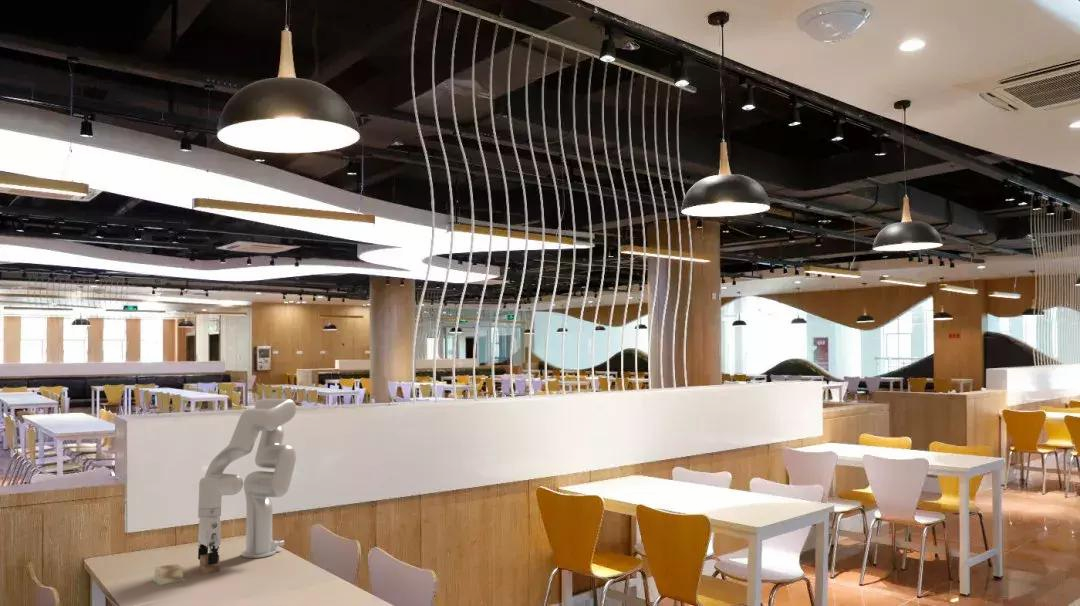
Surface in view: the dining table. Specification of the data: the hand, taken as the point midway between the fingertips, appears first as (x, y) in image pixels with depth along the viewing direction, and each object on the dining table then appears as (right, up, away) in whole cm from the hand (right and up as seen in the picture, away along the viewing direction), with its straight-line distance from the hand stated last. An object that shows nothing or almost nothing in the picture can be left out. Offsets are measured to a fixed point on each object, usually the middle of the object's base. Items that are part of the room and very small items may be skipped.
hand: (207, 561), depth 275 cm
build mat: (-9, -4, -10) cm, 14 cm away
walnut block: (0, -4, +1) cm, 4 cm away
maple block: (-9, -3, -10) cm, 14 cm away
